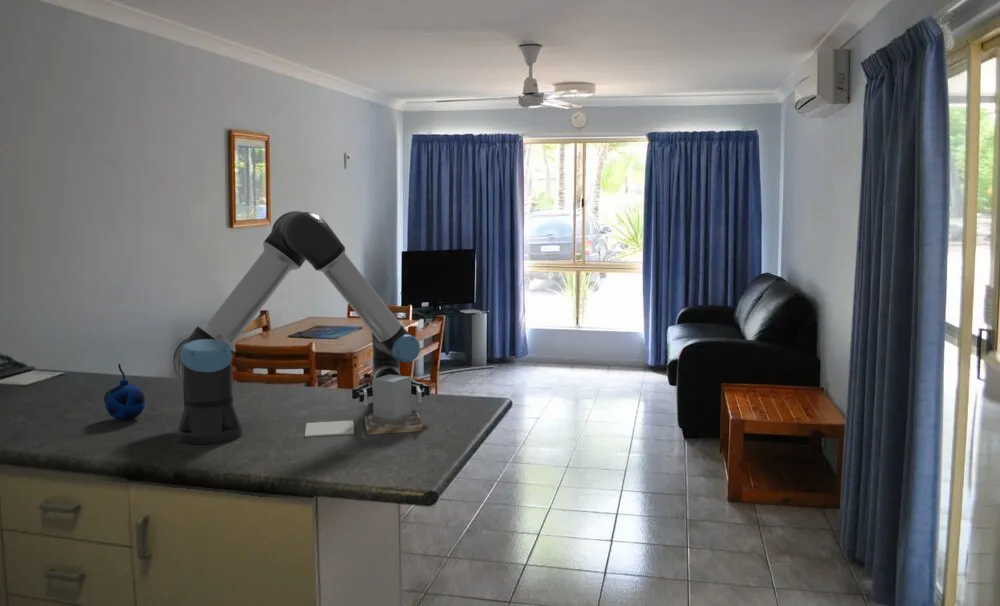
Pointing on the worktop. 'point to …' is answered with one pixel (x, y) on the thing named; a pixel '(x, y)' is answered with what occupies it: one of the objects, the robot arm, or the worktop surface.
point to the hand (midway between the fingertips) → (393, 398)
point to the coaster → (329, 428)
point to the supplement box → (392, 397)
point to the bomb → (124, 400)
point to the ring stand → (393, 424)
